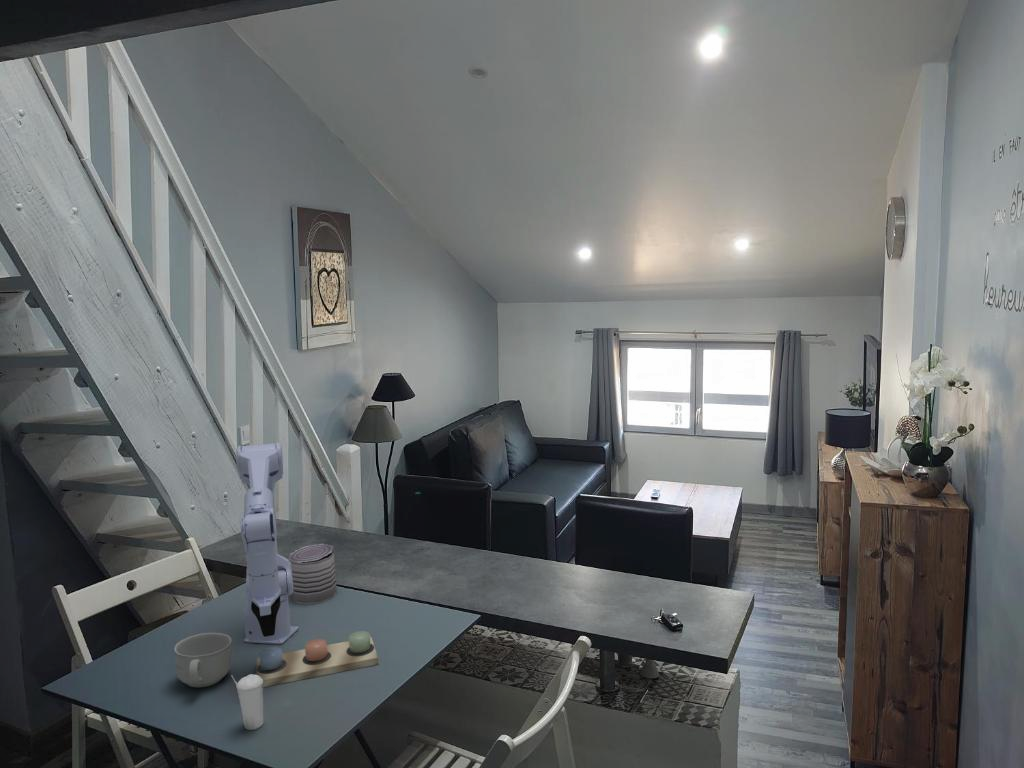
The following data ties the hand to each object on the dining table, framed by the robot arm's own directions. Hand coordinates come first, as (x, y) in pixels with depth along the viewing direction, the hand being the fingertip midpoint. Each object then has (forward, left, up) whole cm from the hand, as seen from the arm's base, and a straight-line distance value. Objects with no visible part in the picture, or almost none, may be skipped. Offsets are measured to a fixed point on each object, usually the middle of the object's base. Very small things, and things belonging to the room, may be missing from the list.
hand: (268, 634), depth 152 cm
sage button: (+16, +9, -6) cm, 19 cm away
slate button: (0, 0, -6) cm, 6 cm away
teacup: (-12, -6, -9) cm, 16 cm away
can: (-9, +37, -9) cm, 40 cm away
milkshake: (+6, -18, -9) cm, 20 cm away
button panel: (+8, +4, -8) cm, 12 cm away
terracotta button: (+8, +5, -6) cm, 11 cm away
